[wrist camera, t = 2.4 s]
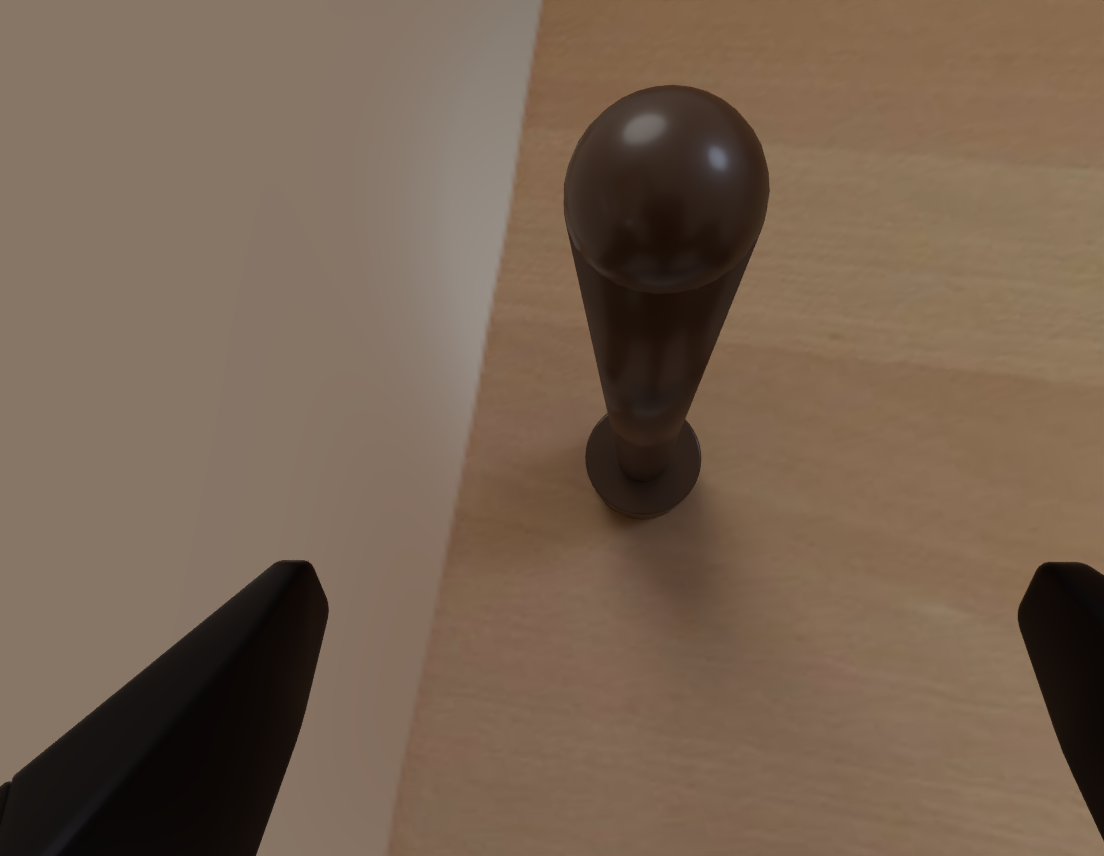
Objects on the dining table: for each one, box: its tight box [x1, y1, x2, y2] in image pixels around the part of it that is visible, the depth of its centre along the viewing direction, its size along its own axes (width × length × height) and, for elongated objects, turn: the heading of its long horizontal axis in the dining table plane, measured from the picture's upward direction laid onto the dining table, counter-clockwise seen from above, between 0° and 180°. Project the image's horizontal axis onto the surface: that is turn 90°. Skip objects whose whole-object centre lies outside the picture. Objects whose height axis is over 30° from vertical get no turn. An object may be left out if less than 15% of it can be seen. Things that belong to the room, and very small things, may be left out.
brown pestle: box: [564, 85, 770, 519], centre depth 11 cm, size 3×3×16 cm
